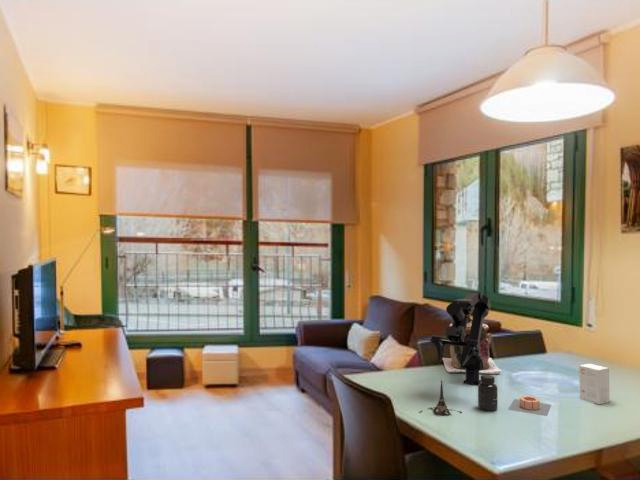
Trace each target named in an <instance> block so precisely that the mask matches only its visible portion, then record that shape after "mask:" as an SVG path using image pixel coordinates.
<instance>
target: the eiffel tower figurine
mask: <svg viewBox="0 0 640 480" xmlns="http://www.w3.org/2000/svg"><path fill="white" fill-rule="evenodd" d="M440 379H441V380H440V392H439V398H438V402H437V404H436V406H433V407H428V408H427V410H430V411H431V412H432V413H434V414H435V416H437V417H449V416H450V417H451V416H452V414H451V412H450V411H456V412H458V413H459V414H463V411H462V410H455V409H451V408H450V409H449V408H448V406H447V405H446V402H445V398H444V389H443V388H444V387H443V379H442V377H441V378H440ZM422 412H423V410H420V411H418V414H422Z"/></svg>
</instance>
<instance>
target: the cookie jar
mask: <svg viewBox="0 0 640 480" xmlns="http://www.w3.org/2000/svg"><path fill="white" fill-rule="evenodd" d="M464 315H466V314H464ZM466 316H467V318H468V324H467V327H466V332H465V333H466V336H465V337H464V341H463V342H467V340H468V339H469V335H470V330H471V324H472V319H473V313H471V315H466ZM450 326H452V323H450V324H449V327H450ZM489 329H490V328H489V326H488V324H485V323H483V325H482V331H481V337H480V342H479V344H480V346H481V350H480V353H481V357H482V360H483V363H484V370H481V371H479V374H482V375H499V373H501V372H502V369H500V368H499V367H498V366H497V365H496V364H495V362H494V360H493V358H492V357H490V345H491V342H492V335H491V333H490V332H489V333H488V331H489ZM462 350H463V347H460V346H452V345H449V352H450V353H449V354H450V357H442V359H441V360H442V361H443V366H444V367H445V371H446V372H447V373H466V368H461V363H460V355H461V354H462Z"/></svg>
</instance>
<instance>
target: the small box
mask: <svg viewBox="0 0 640 480" xmlns="http://www.w3.org/2000/svg"><path fill="white" fill-rule="evenodd" d="M578 366H579V368H578V369H579V399H582V400H585V401H588V402H590V403H594V404H597V405H603V404H607V403H610V399H611V398H610V368H609V367H607V366H606V367H605V366H601V365H597V364H593V363H585V364H581V365H580V364H579V365H578Z"/></svg>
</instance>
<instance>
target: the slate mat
mask: <svg viewBox="0 0 640 480" xmlns="http://www.w3.org/2000/svg"><path fill="white" fill-rule="evenodd" d="M551 407H552V404H549V403H541V402H540V409H539V410H527V409H523V408H521V407H520V399H517V398H514V399H513V400H512V402H511V404H510V406H509V407H508V409H507V410H509V411H515V412H521V413H526V414H531V415H538V416H544V417H548V415H549V412H550V409H551Z"/></svg>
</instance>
